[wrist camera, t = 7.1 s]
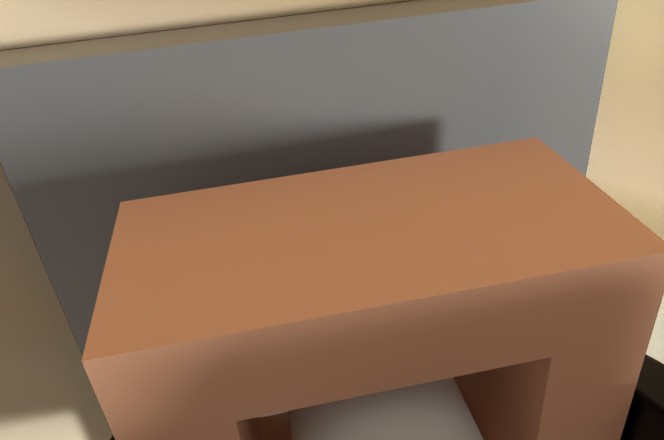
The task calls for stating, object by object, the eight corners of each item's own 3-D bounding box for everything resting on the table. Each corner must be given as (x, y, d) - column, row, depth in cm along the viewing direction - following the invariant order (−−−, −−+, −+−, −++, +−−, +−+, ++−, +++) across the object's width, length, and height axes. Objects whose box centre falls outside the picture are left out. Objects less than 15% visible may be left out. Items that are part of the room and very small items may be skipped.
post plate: (524, 377, 16) (679, 623, 10) (144, 455, 14) (113, 776, 9) (585, -20, 10) (958, 95, 5) (-16, 52, 9) (-295, 296, 4)
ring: (503, 408, 13) (585, 557, 10) (205, 472, 12) (206, 652, 9) (537, 136, 9) (675, 250, 6) (120, 201, 8) (81, 362, 6)
